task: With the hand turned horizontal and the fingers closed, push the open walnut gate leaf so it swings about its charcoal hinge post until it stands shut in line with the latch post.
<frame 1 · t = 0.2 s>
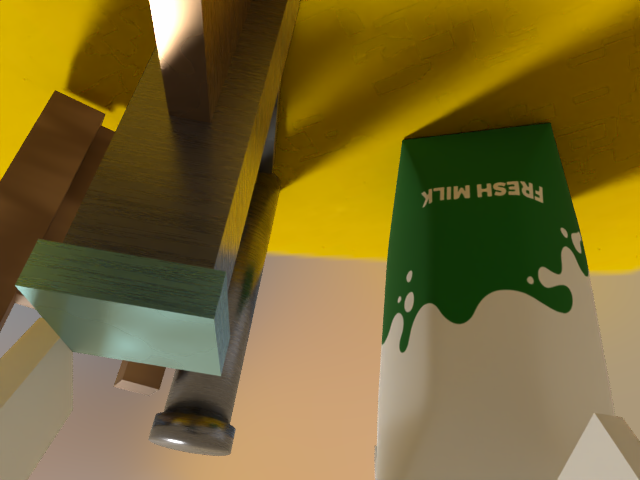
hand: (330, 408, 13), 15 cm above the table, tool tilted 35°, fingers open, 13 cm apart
milk carton: (476, 173, 27), on the table
gate posts: (259, 92, 24), on the table
gate: (91, 254, 23), point 8 cm above the table, hinge at 65.0°
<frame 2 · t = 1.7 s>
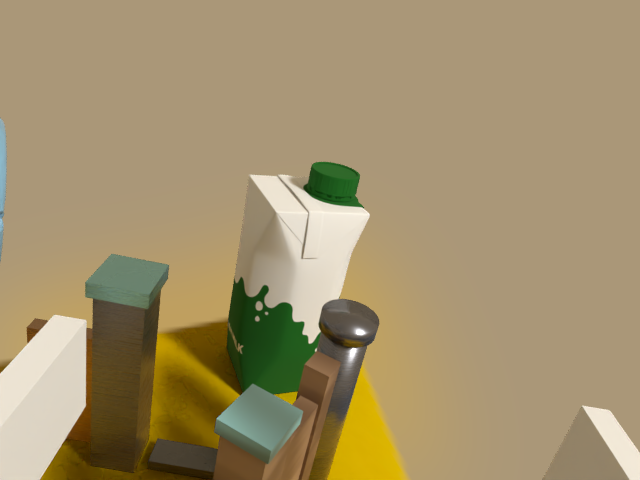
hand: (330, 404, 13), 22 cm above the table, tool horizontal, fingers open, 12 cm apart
milk carton: (270, 369, 48), on the table
gate posts: (210, 467, 36), on the table
gate: (273, 471, 28), point 8 cm above the table, hinge at 65.0°
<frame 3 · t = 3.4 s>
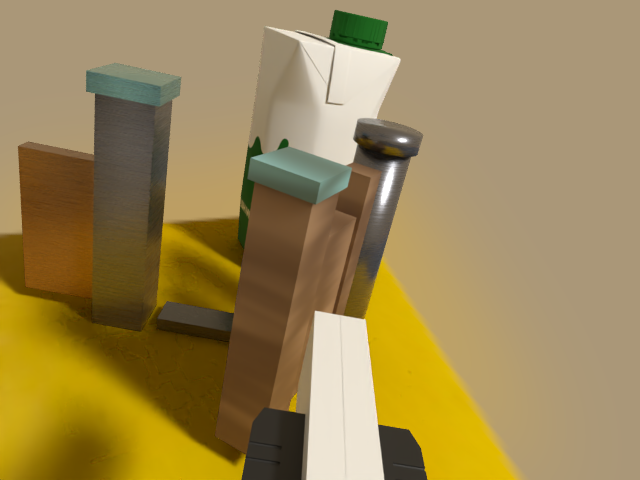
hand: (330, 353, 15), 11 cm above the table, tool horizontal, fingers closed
milk carton: (285, 259, 44), on the table
gate posts: (225, 331, 33), on the table
gate: (307, 286, 24), point 8 cm above the table, hinge at 65.0°
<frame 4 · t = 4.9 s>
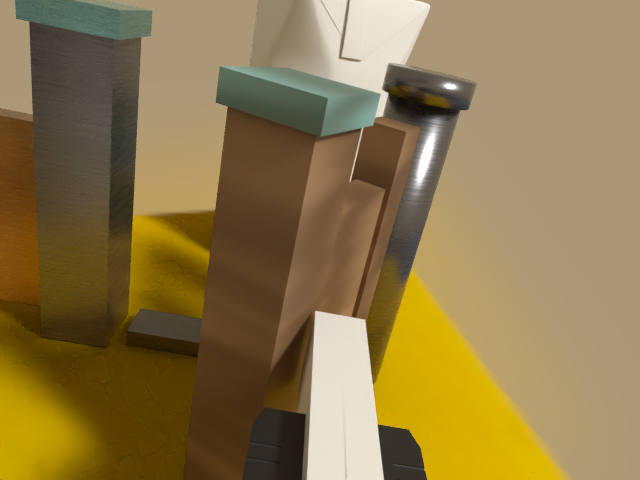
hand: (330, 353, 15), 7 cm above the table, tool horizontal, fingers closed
milk carton: (288, 256, 37), on the table
gate posts: (216, 346, 26), on the table
gate: (315, 281, 17), point 8 cm above the table, hinge at 61.2°, touching gripper
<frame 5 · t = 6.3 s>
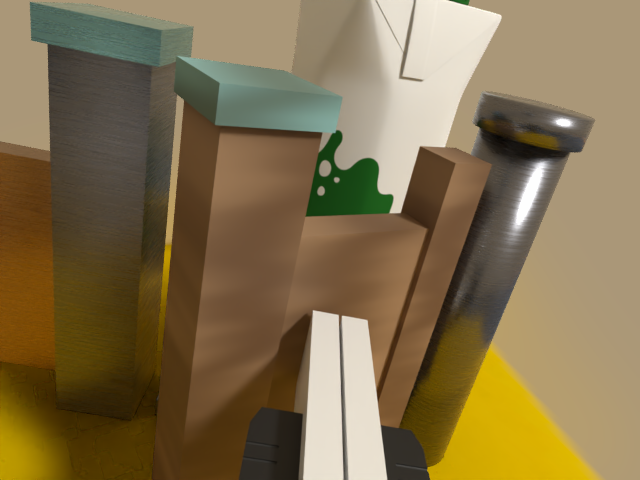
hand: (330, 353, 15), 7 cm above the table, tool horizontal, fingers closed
milk carton: (325, 291, 33), on the table
gate posts: (257, 413, 22), on the table
gate: (319, 311, 16), point 8 cm above the table, hinge at 31.6°, touching gripper
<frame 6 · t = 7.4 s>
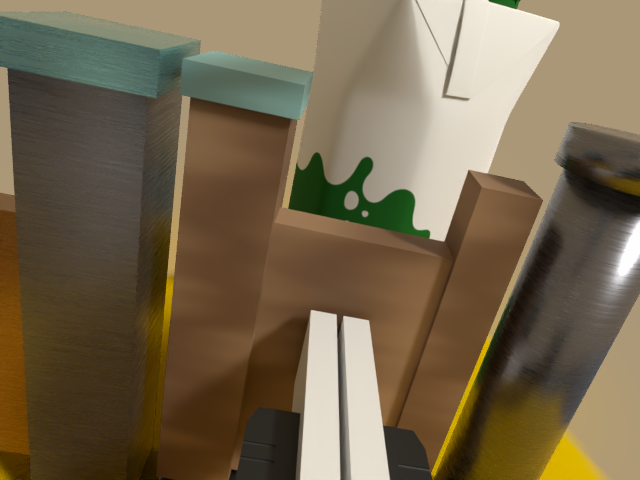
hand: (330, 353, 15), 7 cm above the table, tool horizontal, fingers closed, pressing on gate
milk carton: (345, 330, 30), on the table
gate: (325, 316, 15), point 8 cm above the table, hinge at -2.5°, touching gripper
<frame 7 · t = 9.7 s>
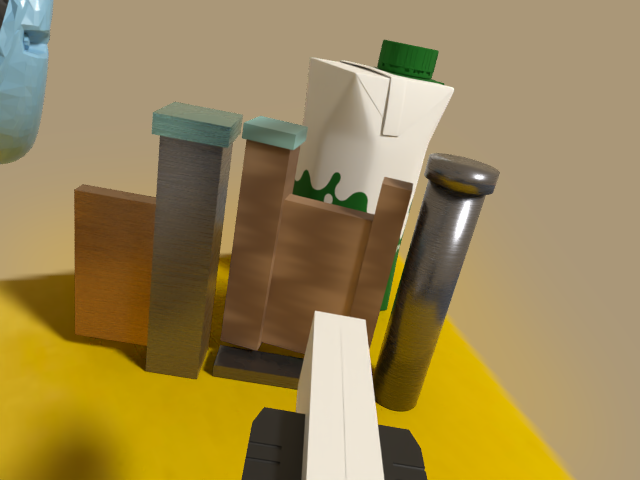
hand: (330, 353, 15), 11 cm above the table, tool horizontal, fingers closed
milk carton: (329, 292, 42), on the table
gate posts: (283, 376, 31), on the table
gate: (312, 253, 29), point 8 cm above the table, hinge at -10.9°
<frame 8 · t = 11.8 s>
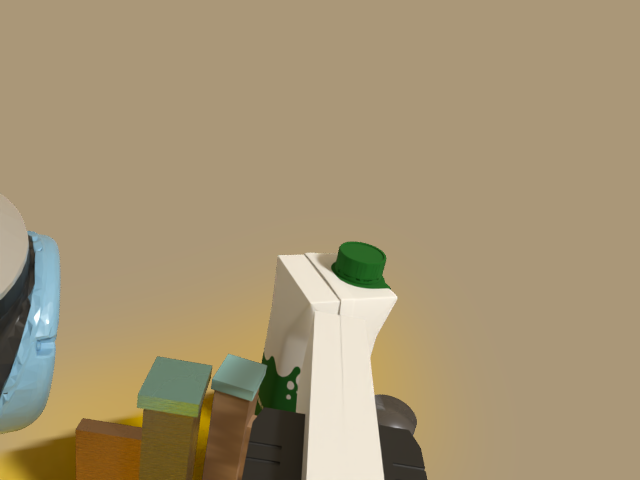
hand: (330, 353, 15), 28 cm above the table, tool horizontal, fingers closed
milk carton: (296, 436, 49), on the table
gate: (270, 460, 35), point 8 cm above the table, hinge at -10.9°
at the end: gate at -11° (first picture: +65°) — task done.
